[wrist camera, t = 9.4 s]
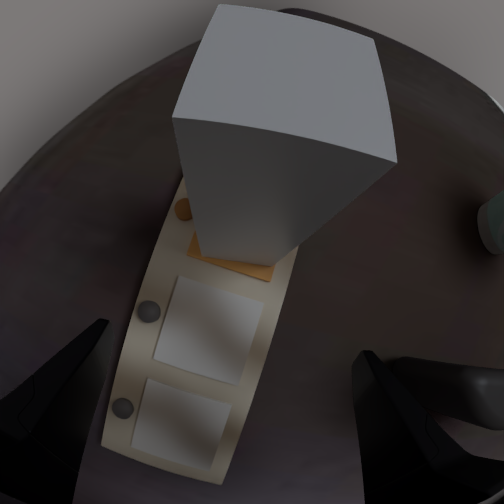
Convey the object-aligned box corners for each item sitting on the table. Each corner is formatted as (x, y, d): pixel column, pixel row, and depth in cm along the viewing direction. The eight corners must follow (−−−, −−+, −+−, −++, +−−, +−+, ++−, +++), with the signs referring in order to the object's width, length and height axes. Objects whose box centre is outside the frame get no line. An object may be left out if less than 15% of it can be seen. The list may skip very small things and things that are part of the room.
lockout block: (271, 266, 19) (396, 162, 5) (201, 256, 18) (171, 116, 5) (278, 201, 20) (373, 39, 6) (213, 191, 19) (219, 4, 6)
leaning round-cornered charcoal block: (373, 406, 19) (451, 444, 10) (389, 352, 20) (476, 365, 11) (483, 407, 20) (546, 420, 11) (494, 367, 21) (559, 372, 12)
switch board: (221, 477, 17) (221, 489, 15) (106, 439, 16) (98, 448, 15) (306, 201, 22) (314, 192, 20) (192, 164, 21) (191, 152, 19)
